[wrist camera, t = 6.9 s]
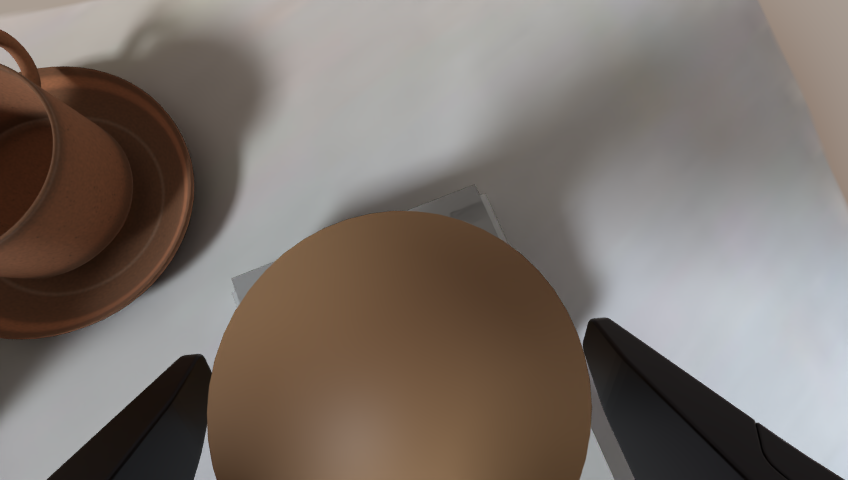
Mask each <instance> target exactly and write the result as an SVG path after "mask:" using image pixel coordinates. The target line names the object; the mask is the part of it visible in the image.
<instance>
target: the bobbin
mask: <svg viewBox="0 0 848 480" xmlns="http://www.w3.org/2000/svg"><path fill="white" fill-rule="evenodd" d="M591 412H592V404H591V390H590V379H589V374H588V369H587V364H586V359H585V355H584V352H583V349H582V346H581V343H580V339H579V336H578V333H577V331H576V329H575V327H574V325H573V322H572V320H571V318H570V316H569V314H568V312H567V310H566V308H565V306H564V305H563V303H562V302H561V300H560V298H559V297H558V295H557V294H556V292H555V290H554V289H553V288H552V287H551V285H550V284H549V283H548V282H547V280H546V279H545V278H544V277H543V275H542V274H541V273H540V272H539V271H538V270H537V269H536V268H535V267H534V266H533V265H532V264H531V263H530V262H529V261H528V260H527V259H526V258H525V257H524V256H523V255H522V254H520V253H519V252H518V251H516V250H515V249H514V248H512V247H511V246H510V245H508V244H507V243H506V242H504V241H503V240H501V239H499V238H498V237H496V236H494V235H492V234H491V233H489V232H487V231H485V230H484V229H481V228H479V227H476V226H474V225H472V224H469V223H467V222H464V221H462V220H458V219H455V218H451V217H447V216H444V215H440V214H433V213H426V212H419V211H389V212H380V213H372V214H367V215H363V216H359V217H355V218H351V219H347V220H344V221H342V222H339V223H337V224H334V225H331V226H329V227H326V228H324V229H322V230H320V231H318V232H317V233H315V234H313V235H311V236H309V237H307V238H305V239H304V240H302V241H301V242H299V243H298V244H297V245H295V246H294V247H292V248H291V249H290V250H288V251H287V252H285V253H284V254H283V255H282V256H281V257H280V258H279V259H277V260H276V261H275V262H274V263H273V264H272V265H271V266H270V267H269V268H268V269H267V270H265V272H264V273H263V274H262V275H261V276H260V278H259V279H258V280H257V281H256V282H255V283H254V285H253V286H252V287H251V288H250V289H249V291H248V292H247V294H246V295H245V297H244V298H243V300H242V301H241V303H240V304H239V306H238V307H237V309H236V310H235V312H234V314H233V316H232V318H231V320H230V322H229V324H228V326H227V328H226V330H225V333H224V335H223V337H222V340H221V343H220V346H219V349H218V352H217V355H216V358H215V361H214V366H213V370H212V375H211V380H210V384H209V394H208V406H207V426H208V442H209V448H210V454H211V460H212V465H213V469H214V472H215V476H216V479H217V480H580V477H581V474H582V470H583V467H584V464H585V461H586V456H587V450H588V444H589V439H590V432H591Z"/></svg>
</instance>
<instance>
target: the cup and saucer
mask: <svg viewBox="0 0 848 480" xmlns="http://www.w3.org/2000/svg"><path fill="white" fill-rule="evenodd" d="M0 47H2V48H4V49H5V50H6V51H8V52H9V53H10V54H11V56H12V57H13V58H14V59H15V61H16V62H17V64H18V66H19V67H20V70H21V72H19V73H18V72H16V71H15V70H13V69H11V68H9V67H7V66H4V65H2V64H0V338H4V339H38V338H45V337H51V336H57V335H61V334H65V333H69V332H72V331H75V330H78V329H81V328H84V327H87V326H90V325H92V324H94V323H97V322H99V321H101V320H103V319H105V318H107V317H109V316H111V315H113V314H114V313H116V312H118V311H120V310H121V309H123V308H124V307H126V306H127V305H129V304H130V303H131V302H133V301H134V300H135V299H136V298H138V297H139V296H140V295H141V294H143V293H144V292H145V291H146V290H147V289H148V288H149V287H150V286H151V285H152V284H153V283H154V282H155V281H156V280H157V278H158V277H159V276H160V275H161V274H162V273H163V271H164V270H165V269H166V267H167V266H168V264H169V263H170V262H171V260H172V259H173V257H174V255H175V254H176V252H177V250H178V248H179V246H180V244H181V242H182V240H183V238H184V235H185V233H186V230H187V227H188V224H189V221H190V217H191V213H192V207H193V200H194V174H193V168H192V162H191V159H190V155H189V152H188V149H187V146H186V144H185V142H184V139H183V137H182V135H181V133H180V132H179V130H178V128H177V126H176V125H175V123H174V122H173V120H172V119H171V117H170V116H169V115H168V113H167V112H166V111H165V110H164V109H163V108H162V107H161V105H160V104H159V103H157V102H156V101H155V100H154V99H153V98H152V97H151V96H150V95H148V94H147V93H146V92H144V91H143V90H142V89H140V88H138V87H137V86H135V85H133V84H132V83H130V82H128V81H126V80H124V79H122V78H119V77H117V76H114V75H111V74H108V73H105V72H101V71H97V70H93V69H87V68H81V67H46V68H38V69H37V67H36V65H35V63H34V61H33V60H32V58H31V56H30V55H29V53H28V52H27V51H26V50H25V48H24V47H23V46H22V45H21V44H20V43H19V42H18V41H17V40H16V39H15V38H13V37H12V36H11V35H9V34H8V33H6V32H4V31H2V30H0Z"/></svg>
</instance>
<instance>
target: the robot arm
mask: <svg viewBox="0 0 848 480" xmlns="http://www.w3.org/2000/svg"><path fill="white" fill-rule="evenodd" d="M583 350H584V354H585V357H586V360H587V363H588V366H589V369H590V372H591V375H592V378H593V381H594V384H595V387H596V390H597V393H598V396H599V399H600V402H601V404H602V407H603V410H604V412H605V415H606V417H607V419H608V422H609V424H610V426H611V428H612V430H613V432H614V435H615V437H616V439H617V441H618V443H619V446H620V448H621V450H622V452H623V454H624V456H625V459H626V461H627V463H628V465H629V467H630V469H631V472H632V474H633V476H634V478H635V480H844V479H843V478H841V477H840V476H838V475H836V474H835V473H833V472H832V471H830V470H829V469H827V468H825V467H824V466H822V465H821V464H819V463H817V462H816V461H814V460H813V459H811V458H810V457H808V456H806V455H805V454H803V453H802V452H801V451H799V450H798V449H796V448H795V447H793V446H792V445H790V444H789V443H787V442H786V441H784V440H783V439H781V438H780V437H778V436H777V435H775V434H774V433H773V432H771V431H770V430H768V429H767V428H765V427H764V426H763V425H761V424H760V423H755V420H754V419H752V418H751V417H749V416H748V415H747V414H745V413H744V412H742V411H741V410H739V409H738V408H737V407H735V406H734V405H732V404H731V403H729V402H728V401H727V400H725V399H724V398H722V397H721V396H719V395H718V394H717V393H715V392H714V391H712V390H711V389H709V388H708V387H707V386H705V385H704V384H702V383H701V382H699V381H698V380H697V379H695V378H694V377H692V376H691V375H689V374H688V373H687V372H685V371H684V370H682V369H681V368H679V367H678V366H677V365H675V364H674V363H672V362H671V361H669V360H668V359H667V358H665V357H664V356H662V355H661V354H659V353H658V352H656V351H655V350H654V349H652V348H651V347H649V346H648V345H646V344H645V343H644V342H642V341H641V340H639V339H638V338H636V337H635V336H634V335H632V334H631V333H629V332H628V331H626V330H625V329H624V328H622V327H621V326H619V325H618V324H616V323H615V322H614V321H612V320H611V319H609V318H593V319H591V320H590V321H589V322H588V325H587V329H586V333H585V337H584V340H583ZM211 375H212V372H211V370H210V368H209V366H208V364H207V362H206V359H205V358H204V356H203V355H201V354H193V355H184V356H182V357H180V358H179V359H178V360H176V361H175V362H174V363H173V364H172V365H171V366H170V367H169V368H168V369H167V370H166V371H164V372H163V373H162V374H161V375H160V376H159V377H158V378H157V379H156V380H155V381H154V382H152V383H151V384H150V385H149V386H148V387H147V388H146V389H145V390H144V391H143V392H142V393H140V394H139V395H138V396H137V397H136V398H135V399H134V400H133V401H132V402H131V403H130V404H129V405H127V406H126V407H125V408H124V409H123V410H122V411H121V412H120V413H119V414H118V415H117V416H115V417H114V418H113V419H112V420H111V421H110V422H109V423H108V424H107V425H106V426H105V427H103V428H102V429H101V430H100V431H99V432H98V433H97V434H96V435H95V436H94V437H93V438H91V439H90V440H89V441H88V442H87V443H86V444H85V445H84V446H83V447H82V448H81V449H79V450H78V451H77V452H76V453H75V454H74V455H73V456H72V457H71V458H70V459H69V460H67V461H66V462H65V463H64V464H63V465H62V466H61V467H60V468H59V469H58V470H57V471H55V472H54V473H53V474H52V475H51V476H50V477H49V478H48V479H47V480H194V477H195V473H196V470H197V467H198V463H199V460H200V456H201V453H202V448H203V443H204V438H205V433H206V428H207V406H208V394H209V384H210V380H211Z"/></svg>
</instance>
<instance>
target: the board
mask: <svg viewBox="0 0 848 480" xmlns="http://www.w3.org/2000/svg"><path fill="white" fill-rule="evenodd" d="M407 211H419V212H426V213H433V214H440V215H444V216H447V217H451V218H455V219H458V220H462V221H464V222H467V223H469V224H472V225H474V226H476V227H479V228H481V229H484V230H485V231H487V232H489V233H491V234H492V235H494V236H496V237H498V238H499V239H501V240H503V241H504V242H506V243H507V244H508V242H507V240H506V238H505V236H504V233H503V231H502V229H501V227H500V224H499V222H498V220H497V218H496V216H495V213H494V211H493V209H492V207H491V205H490V202H489V200H488V198H487V196H486V193H484V194H481V195H479V192H478V190H477V188H476V186H475V184H474V185H472V186H469V187H466V188H464V189H461V190H459V191H456V192H454V193H451V194H448V195H446V196H443V197H441V198H438V199H435V200H433V201H430V202H428V203H425V204H423V205H420V206H417V207H415V208H412V209H410V210H407ZM508 245H509V244H508ZM273 263H274V262H272V263H270V264H267V265H265V266H262V267H260V268H257V269H254V270H252V271H249V272H247V273H244V274H241V275H239V276H236V277H234V278H231V279H232V282H233V285H234V288H235V291H233V292H232V295H233V298H234V301H235V304H236V307H238V306H239V304H240V303H241V301H242V300H243V298H244V297H245V295H246V294H247V292H248V291H249V289H250V288H251V287H252V286H253V285H254V283H255V282H256V281H257V280H258V279H259V278H260V276H261V275H262V274H263V273H264V272H265V270H267V269H268V268H269V267H270V266H271V265H272V264H273ZM580 480H614V477H613V475H612V473H611V471H610V469H609V466H608V464H607V462H606V460H605V457H604V455H603V453H602V451H601V449H600V446H599V444H598V442H597V440H596V437H595V435H594V433H593V431H592V429H591V432H590V439H589V444H588V450H587V456H586V461H585V464H584V467H583V470H582V474H581V477H580Z"/></svg>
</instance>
